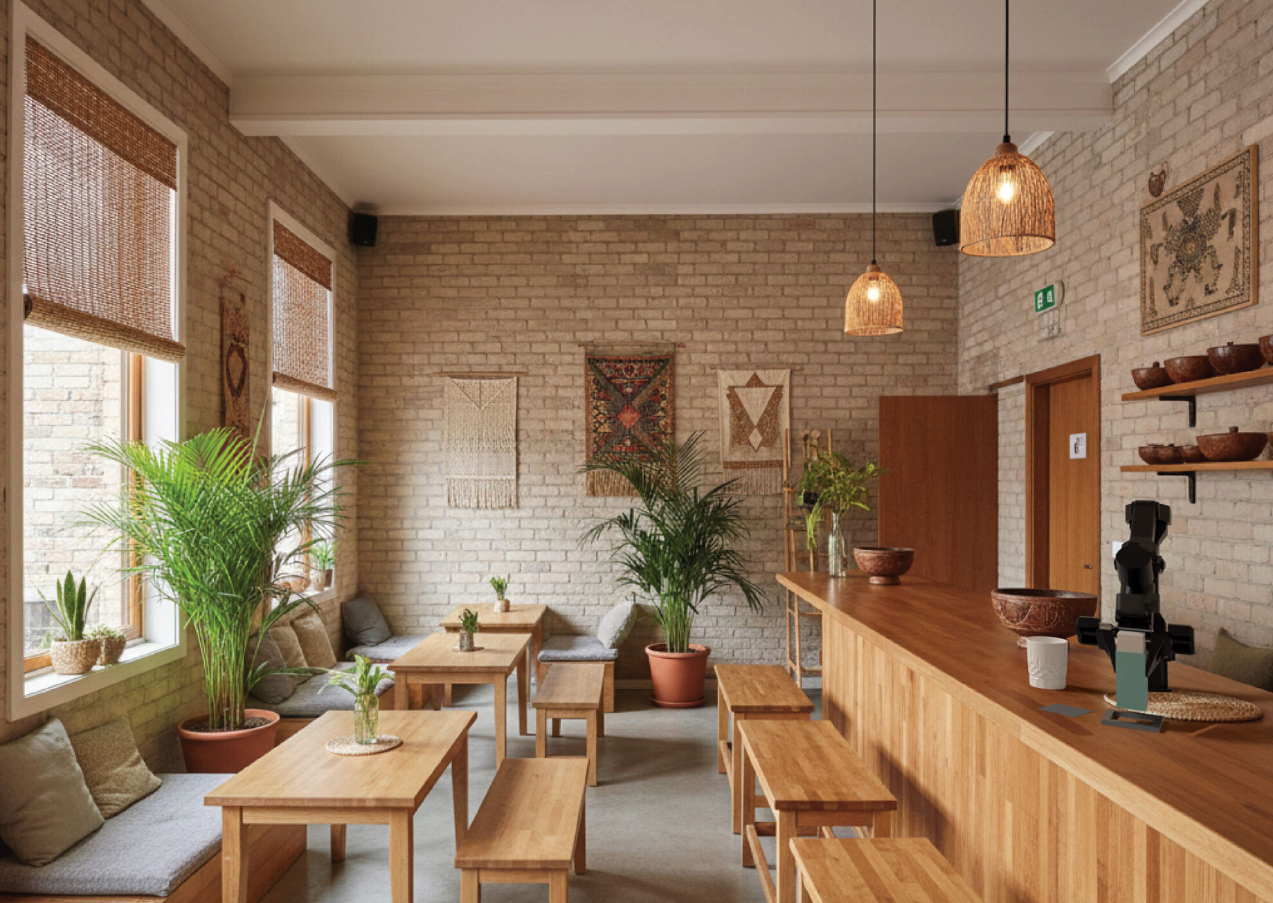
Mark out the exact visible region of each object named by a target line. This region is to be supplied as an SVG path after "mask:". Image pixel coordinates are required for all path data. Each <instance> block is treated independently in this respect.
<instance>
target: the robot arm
mask: <svg viewBox="0 0 1273 903" xmlns="http://www.w3.org/2000/svg"><path fill="white" fill-rule="evenodd" d="M1124 507H1125V510H1124V511H1125V512H1124V513H1125V514H1124V516H1125V518H1124V521H1125V523H1126V525H1129V526H1128V527H1129V531H1130V535H1129V540H1127V541H1125V542H1123V543H1122V544H1121V547H1120V549H1119V550H1118V551H1117V552H1116V553H1115V556H1114V559H1113V566H1114V570H1115V571H1116V572H1117V576H1118V581H1119V583H1120V587H1119V588H1120V589H1119V592H1118V593H1116V594H1115V595H1116V596H1115V611H1114V621H1115V623H1116V625H1114V624H1113V623H1110V622H1102V621H1101V617H1099V616H1098V617H1097V616H1085V615H1079V616H1078V617H1077V618H1076V619H1075V622H1074V623H1075V624H1074V625H1075V626H1074V628H1075V632H1076V637H1077V642H1078V643H1079V644H1080V645H1083V646H1093V647H1098V649H1099V650H1100V651H1101V650H1102V651H1104V652H1105V653H1106V655H1107V657H1108V658H1109V661H1110V663H1111V664H1110V665H1111V667H1112V670H1113V673H1114V674H1115V675H1116V650H1117V642H1116V640H1117V633H1118V632H1119V631H1130V632H1141V633H1145V650H1147V662H1146V671H1145V675H1146V677H1148V691H1155V690H1161V691H1160V692H1164V691H1165V692H1172V691H1173V689H1172V688H1171V687H1170V686H1169V670H1168V669H1169V666H1168V662H1170V663H1171V662H1175V661H1176V659H1177V658H1176V655H1184V656H1194V655H1196V635H1195V628H1194V627H1193V626H1192V625H1191V624H1185V623H1184V624H1181V623H1171V622H1170V623H1167V622H1166V619H1165V618H1164V617H1163V615H1162V614H1161V595H1160V594H1161V593H1160V575H1163V573H1164V570H1165V569H1166V568H1167V563H1166V560H1164V558H1163V556H1162V555H1160V545H1161V544H1162V543H1163V542H1164V541H1165V539H1166V538H1167V536H1168V535H1169V526H1172V519H1173V518H1172V517H1173V516H1172V508H1171V506H1170V505H1168V504H1165V503H1161V502H1160V501H1156V500H1155V499H1150V500H1149V499H1135V500H1131V503H1128V504H1125V505H1124Z"/></svg>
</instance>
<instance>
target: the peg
mask: <svg viewBox="0 0 1273 903" xmlns="http://www.w3.org/2000/svg"><path fill="white" fill-rule="evenodd" d="M1116 649H1117V650H1116V674H1115V693H1116V694H1115V696H1116V697H1115V698H1116V699H1115V700H1116V701H1115V706H1116V709H1121V710H1122V709H1123V710H1130V711H1131V710H1132V711H1137V712H1138V711H1139V712H1147V709H1148V707H1149V690H1148V677H1146V675H1145V671H1146V662H1147V653H1148V652H1147V650H1145V633H1141V632H1130V631H1119V632H1118V633H1117V639H1116Z"/></svg>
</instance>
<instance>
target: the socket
mask: <svg viewBox="0 0 1273 903" xmlns="http://www.w3.org/2000/svg"><path fill="white" fill-rule="evenodd" d="M1114 717H1119V718H1127V719H1128V718H1129V719H1136V720H1143V721H1151V722H1152V724H1148V723H1147V724H1146V723H1141V722H1132V721H1125V720H1118V719H1113V718H1114ZM1164 717H1165V716H1164V715H1158V714H1151V713H1150V714H1149V713H1144V712H1143V713H1142V712H1138V711H1137V712H1135V711H1128V710H1122V709H1114V708H1107V709H1106V710H1105V712H1104V714H1103V715H1102V717H1100V724H1101V725H1102V726H1110V727H1117V728H1123V729H1130V730H1138V731H1143V732H1151V733H1158V734H1160V732H1161V730H1162V726H1163V724H1164V721H1165V720H1164Z"/></svg>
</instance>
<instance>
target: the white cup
mask: <svg viewBox="0 0 1273 903" xmlns="http://www.w3.org/2000/svg"><path fill="white" fill-rule="evenodd" d="M1025 640H1026V656H1027V658H1026V659H1027V668H1028V669H1027V670H1028V677H1029V678H1028V679H1029V685H1030V686H1031V687H1034V688H1039V689H1043V690H1064V689H1066V688H1067V678H1066V677H1067V673H1068V672H1067V671H1068V670H1067V669H1068V648H1069V647H1068V646H1069V642H1068V640H1067V639H1064V638H1059V637H1054V636H1053V637H1052V636H1040V635H1039V636H1028V637H1026V639H1025Z"/></svg>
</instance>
